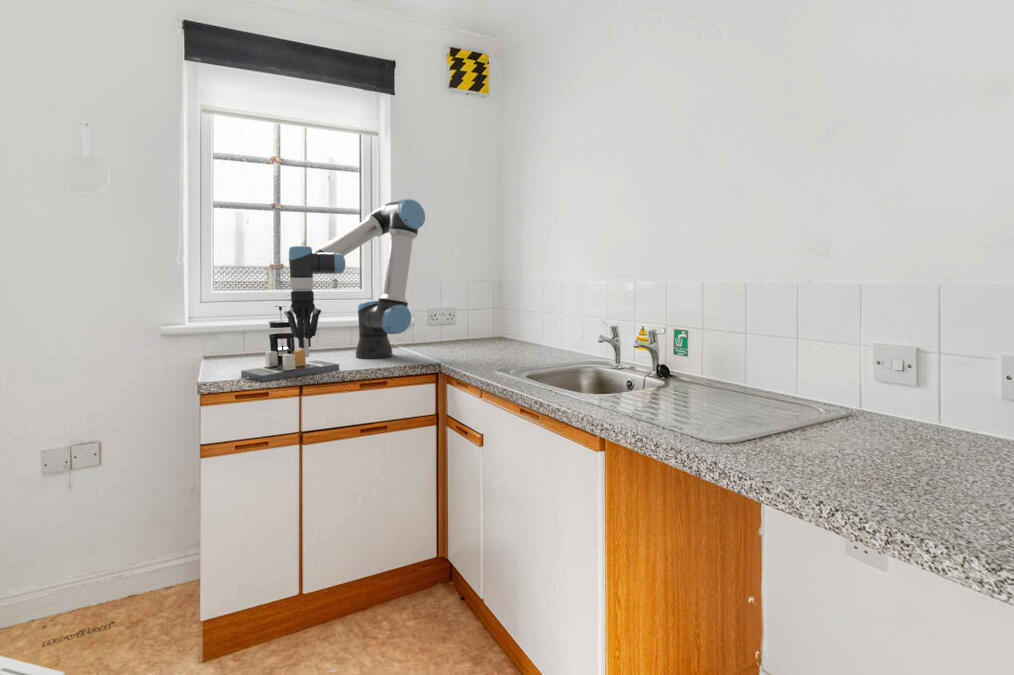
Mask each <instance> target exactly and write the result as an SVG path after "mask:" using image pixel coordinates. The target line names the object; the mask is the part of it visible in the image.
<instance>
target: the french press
mask: <svg viewBox="0 0 1014 675" xmlns="http://www.w3.org/2000/svg"><path fill="white" fill-rule="evenodd" d="M274 307H275V308H277V307H278V311H279V317H280V320H279V319H276V320H273V321H268V322H267V323H268V324H269V328H270V329H280V331H281V332H279V333H271V334H269V335H268V339H269V345H270V346H269V347H270V351H277V358H278V365H283V358H282V355H283V354H282V355H281V354H280V355H279V353H281V352H282V353H283V352H285V353H286V354H293V351H296V348H295V337H293V335H292V332H283V329H286V328H290V325H289V321H288V319H282V318H283V317H282V311H283V307H284V308H285V307H286V305H285V304H280V305H279V304H278V305H274ZM285 339H286V346H284V340H285ZM278 340H281V347H279V341H278Z"/></svg>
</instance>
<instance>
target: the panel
mask: <svg viewBox="0 0 1014 675" xmlns="http://www.w3.org/2000/svg"><path fill="white" fill-rule="evenodd" d="M264 353H265V354H264V356H265V366H264V367H258V368H251V369H244V370H241V373H240V375H241V376H243V378H245V377H249V378H251V379H250V380H254V381H258V382H263V383H264V382H268V381H270V382H271V381H276V380H282V379H288V378H295V377H300V376H308V375H313V373H315V374H318V373H317V372H321V373H325V372H324V371H327V372H332V371H331V370H334V371H339V370H340V364H339V363H334V362H329V361H323V360H310V361H306V365H299V366H297V365H295V354H287V353H286V354H282V358H283V365H278V358H277V351H271V350H270V351H265V352H264ZM249 378H248V379H249Z"/></svg>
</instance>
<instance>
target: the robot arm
mask: <svg viewBox="0 0 1014 675" xmlns="http://www.w3.org/2000/svg"><path fill="white" fill-rule="evenodd" d="M364 219H365V220H363V221H362V222H360V223H358V224H357V225H354V226H353V227H352V228H350V229H348V230H347V231H345V232H343V233H342V234H340V235H338V236H337V237H335V238H334V239H332V240H329V241H328V242H327V243H325V244H323V245H322V246H319V247H318V248H317V249H315V250H313V249H312V247H311V246H308V245H292V246H290V247H289V249H288V263H289V275H290V276H289V282H290V290H291V291H290V302H291V305H290V308H289V309H288V310H284V314H285V316H286V318H287V320H288V321H289V325H290V327H289V328H290V332H291V333H292V335H293V337H294V338H295V339H298V348H300V350H304V351H305V358H309V357H310V348H311V346H312V345H311V341H312V340H311V339H313V337H315V336H316V334H317V328H318V323H319V317H320V314H321V312H322V310H321V309H319V308H317V307H316V305H315V304H314V303H315V302H314V301H315V294H314V291H313V290H314V275H318V274H319V275H324V274H325V275H326V274H330V275H332V274H333V275H335V274H342V273H344V271H345V269H346V259H345V256H346V255H348V254H350V253H351V252H353V251H354V250H356V249H358V248H359V247H361V246H363V245H364V244H365V243H367V242H368V241H370V240H372V239H374V238H375V237H380V238H381V236H383V235H385V234H387V233H389V234H390V236H391V238H390V242H389V243H390V244H389V249H388V250H389V252H388V257H387V259H388V260H387V266H386V273H385V280H384V287H383V293H382V295H381V296H379V297H378V300H371V301H369V300H368V301H363V302H360V303H359V304H358V307H357V308H358V309H357V315H358V316H357V317H358V318H357V319H358V336H359V338H358V343H357V346H356V349H355V358H357V359H358V358H359V359H381V358H382V359H383V358H389V357H392V356H393V355H394V354H393V349H392V345H391V343H390V341H389V338H388V337H389V336H388V334H389V335H397V334H398V335H399V334H402V333H404V332H405V331H407V330H408V328H409V327H410V325H411V322H412V313H411V312H410V309H409V308H408V306H409V301H408V300H407V299H406V293H407V292H406V291H407V284H408V277H409V272H410V271H409V270H410V264H411V263H410V262H411V256H412V249H413V241H414V239H416V238H417V237H418V234H419V233H418V232H419V229H420V228H422V226H423V225H425V222H426V221H425V220H426V212H425V210H424V208H423V207H422V205H421V204H420V202H418V201H416V200H414V199H402V200H397V201H392V202H388V203H385V204H384V205H382V206H381V207H379V208H377V209H376V210H374V211H372V212H371V213H370V214H368V215H367V216H366V217H365V218H364ZM294 315H295V316H294Z"/></svg>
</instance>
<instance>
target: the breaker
mask: <svg viewBox="0 0 1014 675" xmlns="http://www.w3.org/2000/svg"><path fill="white" fill-rule="evenodd" d="M293 354H295V365H297V366H299V365H306V362H307V361H306V357H305V351H304V350H301V349H300V350H297V349H296V350H295V351H293Z"/></svg>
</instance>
